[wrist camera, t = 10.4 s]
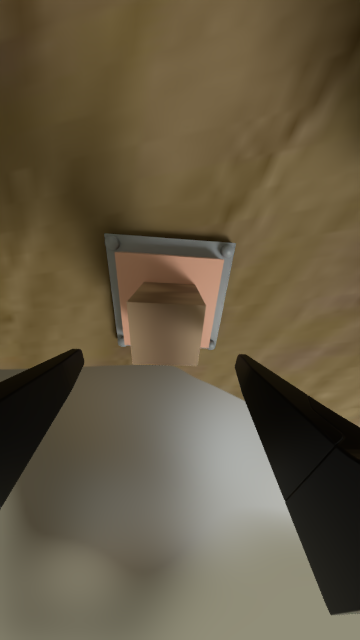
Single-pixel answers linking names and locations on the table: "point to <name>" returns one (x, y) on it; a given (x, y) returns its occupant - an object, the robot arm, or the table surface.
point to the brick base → (168, 248)
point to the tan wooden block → (166, 324)
